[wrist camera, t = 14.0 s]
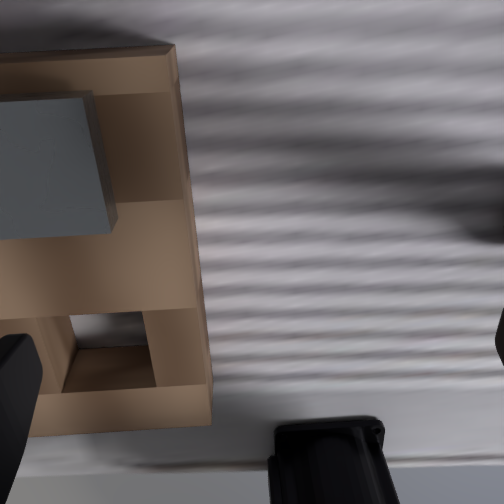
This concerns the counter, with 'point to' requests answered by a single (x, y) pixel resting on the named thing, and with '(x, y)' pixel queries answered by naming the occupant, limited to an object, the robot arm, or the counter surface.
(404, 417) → the counter surface
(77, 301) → the socket block
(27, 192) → the gray rectangular block
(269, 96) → the counter surface
